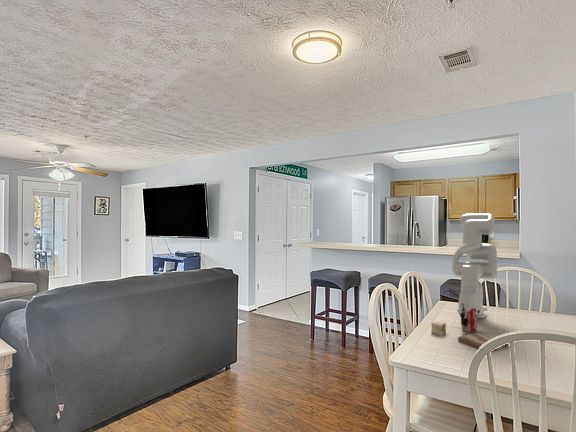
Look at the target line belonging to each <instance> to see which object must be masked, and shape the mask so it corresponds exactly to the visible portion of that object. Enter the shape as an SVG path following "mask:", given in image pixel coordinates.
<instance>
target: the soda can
mask: <svg viewBox="0 0 576 432" xmlns="http://www.w3.org/2000/svg"><path fill="white" fill-rule="evenodd" d="M463 311H465V310H463ZM463 314H464V315H465V313H464V312H463ZM466 318H467V326H464V325H461V329H462V330H463V331H464V332H465V333H466V332H467V333H476V331H478V324H477V310H476V308H473V309H472V308H471V310H470V312H469V313H467V317H466Z"/></svg>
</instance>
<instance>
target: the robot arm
mask: <svg viewBox="0 0 576 432" xmlns="http://www.w3.org/2000/svg"><path fill="white" fill-rule="evenodd" d="M459 221H460V222H459V223H460V225H461V228H462V245H461V246H460V247H458V248H457V249H456V250H455V251H454V254H453V258H452V267H451V271H452V274H453V275H454V276H456V277H460V283H461V284H460V292H459V296H458V297H459V298H458V308H457V313H458V315H459V317H460V325H461V326H462V325H464V326H467V318H466V317H467V313H469V312H470V310H471V308H472V309H473V308H476V310H477V325H478V324H479V319H485V318H486V317H487V315H486V314H485V313H484V312H487V311H488V308H487V307H483V306H484V305H483V304H484V303H483V301H484V295H483V293H484V292H483V289H484V287H483V285H482V283H481V281H480V280H481V279H483V280H496V278H497V277H498V276H497V275H498V253H497V251H498V250H497V248H496V246H495V244H491V243H483V242H482V241H483V240H482V239H483V236H489V235H493V233H494V230H495V217H494V215H493V214H492V213H465V214H462V215H460V217H459ZM482 235H483V236H482ZM463 255H465V256H466V258H468V259H469V260H470V259H471V261H465V262H463V261H462V262H460V261H459V260H460V258H461V257H462V256H463ZM472 260H483V261H472ZM485 261H487V262H485ZM479 279H480V280H479ZM463 310H465V311H463ZM463 312H464V313H465V315H464V314H463Z"/></svg>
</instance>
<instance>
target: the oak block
mask: <svg viewBox="0 0 576 432" xmlns="http://www.w3.org/2000/svg"><path fill="white" fill-rule="evenodd" d="M446 324H447V323H446V322H443V321H437V320H435V321H433V322H431V333H432V334H434V335H438V336H443V335H445V334H446V332H447V325H446Z"/></svg>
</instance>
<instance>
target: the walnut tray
mask: <svg viewBox="0 0 576 432" xmlns="http://www.w3.org/2000/svg"><path fill="white" fill-rule="evenodd" d="M492 338H494V337H493V336H489V335H486V334H484V333H481V332H473V333H470V334H466V335H465V334H464V335H459V336H458V337H457V339H458V342H459V343H463V344H465V345H467V346H471V347H472V348H476V349H478V348H479V347H480V346H481V345H482V344H484V343H485V342H487V341H488V340H490V339H492ZM507 346H508V347H509V343H508V344H505V345H503V346H501V347H499V348H501V349H503V348H502V347H505V348H508V347H507ZM499 348H497V350H500V349H499ZM497 350H496V349H495V350H494V351H497Z"/></svg>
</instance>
